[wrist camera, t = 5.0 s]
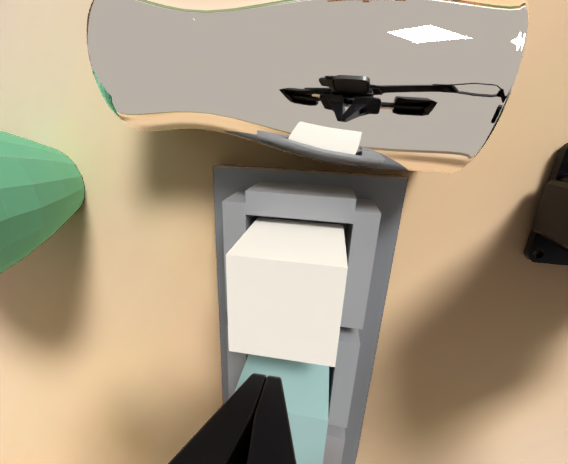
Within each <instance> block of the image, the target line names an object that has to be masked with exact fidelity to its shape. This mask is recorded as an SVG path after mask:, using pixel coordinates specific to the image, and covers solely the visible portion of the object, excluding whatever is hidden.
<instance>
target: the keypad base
mask: <svg viewBox="0 0 568 464" xmlns="http://www.w3.org/2000/svg"><path fill="white" fill-rule="evenodd" d="M213 178H214V201H215V225H216V248H217V271H218V295H219V318H220V341H221V365H222V388H223V404H224V403H225V402H226V401H227V400H228V399H229V398H230V397H231V396H232V395H233V394H234V392H235V389H236V387H237V384H238V381H239V379H240V376H241V373H242V371H243V368H244V365H245V363H246V360H247V357H248V355H249V354H246V353H239V352H232V351H229V344H228V312H227V280H226V254H227V253H228V252H229V250H230V249H231V248H232V247H233V246H234V245H235V243H236V242H237V241H238V240H239V239H240V238H241V237H242V235H243V234H244V233H245V232H246V231H247V230H248V228H249V227H250V226H251V225H252V224H253V223H254V221H255V220H256V219H257V218H258V217H260V218H272V219H283V220H295V221H307V222H318V223H330V224H341V225H343V228H344V237H345V246H346V255H347V265H348V270H347V278H346V286H345V294H344V302H343V309H342V317H341V325H340V333H339V341H338V348H337V356H336V364H335V367H330V366H329V409H328V427H327V434H326V442H325V450H324V458H323V464H355V462H356V456H357V451H358V445H359V440H360V435H361V429H362V424H363V418H364V413H365V408H366V402H367V397H368V391H369V386H370V381H371V375H372V370H373V364H374V359H375V354H376V348H377V343H378V337H379V332H380V327H381V321H382V316H383V310H384V305H385V300H386V294H387V289H388V283H389V278H390V273H391V267H392V262H393V256H394V251H395V246H396V240H397V235H398V229H399V224H400V218H401V213H402V208H403V202H404V197H405V191H406V186H407V181H408V179H407V178H406V177H404V176H392V175H376V174H360V173H344V172H328V171H312V170H295V169H279V168H263V167H247V166H231V165H217V166H214V167H213Z"/></svg>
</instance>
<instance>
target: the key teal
mask: <svg viewBox="0 0 568 464" xmlns="http://www.w3.org/2000/svg"><path fill="white" fill-rule="evenodd" d="M253 373H259V374H265V375H266V376H268V375H271V376H278V377H281V379H282V384H283V390H284V395H285V401H286V407H287V412H288V418H289V424H290V429H291V435H292V441H293V446H294V452H295V458H296V463H297V464H323V458H324V450H325V442H326V434H327V427H328V409H329V366H324V365H317V364H311V363H304V362H298V361H291V360H285V359H278V358H272V357H265V356H259V355H252V354H249V355H248V357H247V360H246V363H245V365H244V368H243V371H242V373H241V376H240V379H239V381H238V384H237V387H236V389H235V391H236V390H237V389H238V388H239V387H240V386H241V385H242V384H243V383H244V382H245V381H246V380H247V378H248V377H249V376H250V375H251V374H253Z"/></svg>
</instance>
